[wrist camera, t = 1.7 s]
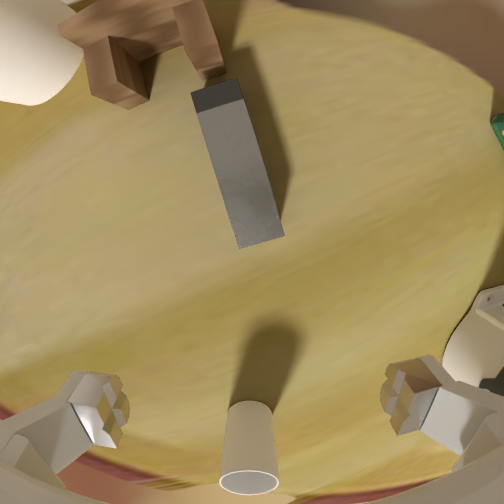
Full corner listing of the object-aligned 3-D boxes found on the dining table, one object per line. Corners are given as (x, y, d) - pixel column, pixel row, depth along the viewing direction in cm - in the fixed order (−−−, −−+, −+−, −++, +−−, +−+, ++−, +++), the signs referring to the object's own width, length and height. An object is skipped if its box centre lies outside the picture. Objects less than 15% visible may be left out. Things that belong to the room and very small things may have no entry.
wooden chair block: (210, 26, 24) (190, -38, 12) (226, 72, 25) (211, 18, 14) (117, 63, 25) (58, 24, 13) (128, 109, 26) (64, 85, 15)
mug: (225, 397, 36) (217, 468, 24) (275, 398, 36) (282, 470, 24) (226, 440, 39) (221, 503, 27) (270, 441, 39) (273, 504, 27)
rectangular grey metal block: (239, 92, 26) (236, 78, 21) (279, 224, 30) (284, 235, 25) (200, 104, 26) (190, 92, 22) (241, 235, 30) (239, 249, 25)
